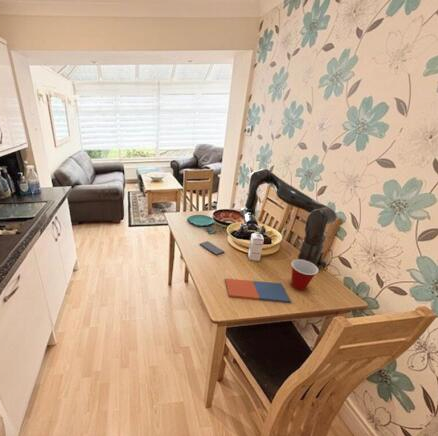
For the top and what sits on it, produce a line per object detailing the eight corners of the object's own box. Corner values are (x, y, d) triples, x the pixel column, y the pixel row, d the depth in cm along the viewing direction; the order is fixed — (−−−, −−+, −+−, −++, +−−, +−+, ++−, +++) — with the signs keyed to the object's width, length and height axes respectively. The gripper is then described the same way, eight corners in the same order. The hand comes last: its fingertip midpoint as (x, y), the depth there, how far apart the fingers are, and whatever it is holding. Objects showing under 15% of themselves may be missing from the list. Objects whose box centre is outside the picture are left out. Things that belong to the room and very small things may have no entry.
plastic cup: (286, 290, 112) (292, 269, 107) (284, 277, 121) (290, 257, 116) (313, 297, 108) (320, 275, 103) (309, 283, 117) (316, 262, 112)
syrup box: (260, 261, 134) (265, 238, 128) (249, 260, 135) (253, 237, 130) (257, 255, 139) (262, 233, 134) (247, 254, 140) (251, 233, 135)
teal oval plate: (204, 215, 195) (204, 212, 194) (228, 230, 169) (228, 227, 168) (183, 219, 188) (183, 216, 187) (204, 235, 163) (205, 232, 162)
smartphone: (207, 241, 154) (224, 251, 142) (207, 242, 154) (224, 252, 142) (199, 243, 151) (216, 254, 139) (199, 244, 151) (216, 255, 139)
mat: (280, 285, 116) (281, 283, 115) (290, 302, 105) (290, 301, 104) (225, 280, 119) (225, 278, 119) (229, 296, 108) (229, 295, 108)
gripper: (240, 216, 157) (242, 226, 142) (263, 218, 153) (268, 229, 139) (238, 226, 160) (240, 237, 145) (261, 228, 156) (265, 240, 142)
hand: (254, 233), depth 142 cm, fingers open, 8 cm apart
